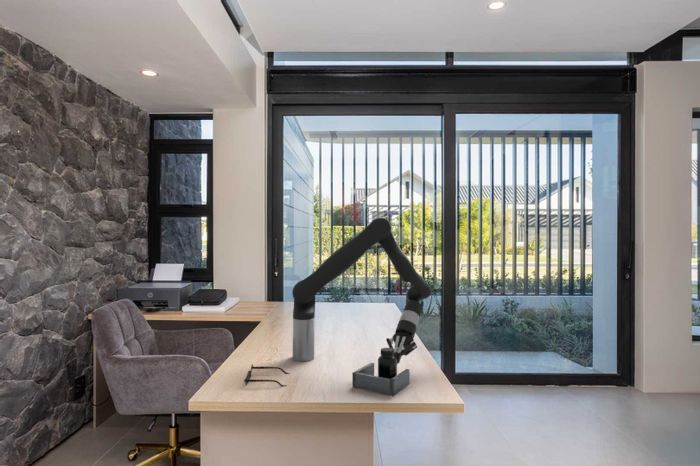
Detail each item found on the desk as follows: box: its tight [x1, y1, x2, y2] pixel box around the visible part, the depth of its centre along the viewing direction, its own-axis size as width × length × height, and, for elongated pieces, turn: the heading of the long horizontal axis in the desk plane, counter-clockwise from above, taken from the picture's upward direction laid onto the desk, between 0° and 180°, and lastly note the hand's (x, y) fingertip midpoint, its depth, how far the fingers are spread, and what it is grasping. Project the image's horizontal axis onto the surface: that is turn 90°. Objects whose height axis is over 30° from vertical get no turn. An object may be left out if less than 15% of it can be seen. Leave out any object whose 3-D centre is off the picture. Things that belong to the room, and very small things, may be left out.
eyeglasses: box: [243, 364, 291, 388], centre depth 154 cm, size 15×15×5 cm
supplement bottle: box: [377, 347, 398, 379], centre depth 152 cm, size 7×7×12 cm
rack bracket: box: [351, 362, 410, 397], centre depth 150 cm, size 14×15×5 cm
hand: (394, 363), depth 159 cm, fingers closed
